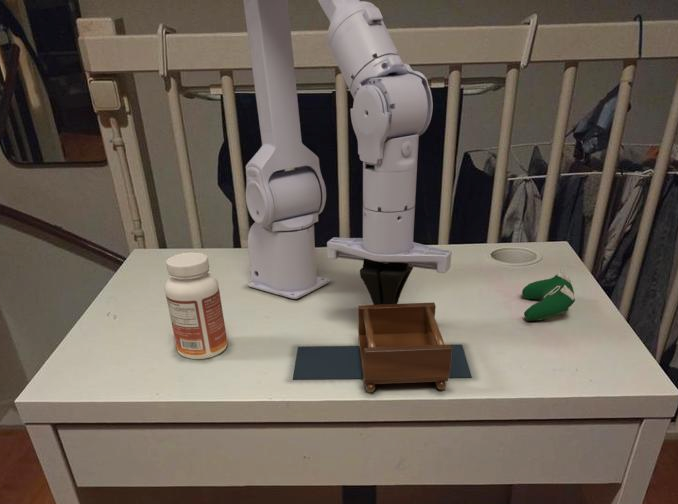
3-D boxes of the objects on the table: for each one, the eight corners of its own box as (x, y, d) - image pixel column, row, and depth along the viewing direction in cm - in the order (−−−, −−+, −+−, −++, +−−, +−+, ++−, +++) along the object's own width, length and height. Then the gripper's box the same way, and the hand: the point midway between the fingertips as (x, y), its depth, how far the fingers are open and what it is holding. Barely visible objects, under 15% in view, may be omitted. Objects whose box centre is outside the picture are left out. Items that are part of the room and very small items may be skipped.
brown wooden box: (358, 344, 76) (358, 305, 73) (431, 341, 76) (434, 302, 73) (364, 394, 66) (364, 351, 63) (448, 391, 66) (452, 348, 63)
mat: (292, 379, 70) (292, 378, 70) (297, 347, 76) (297, 346, 76) (471, 377, 69) (471, 376, 69) (462, 345, 75) (462, 344, 75)
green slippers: (539, 337, 80) (581, 307, 77) (521, 316, 79) (563, 285, 76) (535, 308, 87) (574, 280, 84) (519, 288, 86) (557, 259, 83)
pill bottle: (219, 334, 80) (205, 246, 73) (234, 353, 75) (222, 262, 68) (171, 344, 78) (153, 255, 71) (184, 365, 73) (166, 272, 66)
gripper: (463, 201, 68) (451, 318, 77) (343, 191, 73) (345, 301, 82) (444, 219, 63) (434, 341, 72) (317, 207, 68) (322, 322, 77)
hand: (385, 322), depth 76 cm, fingers closed
